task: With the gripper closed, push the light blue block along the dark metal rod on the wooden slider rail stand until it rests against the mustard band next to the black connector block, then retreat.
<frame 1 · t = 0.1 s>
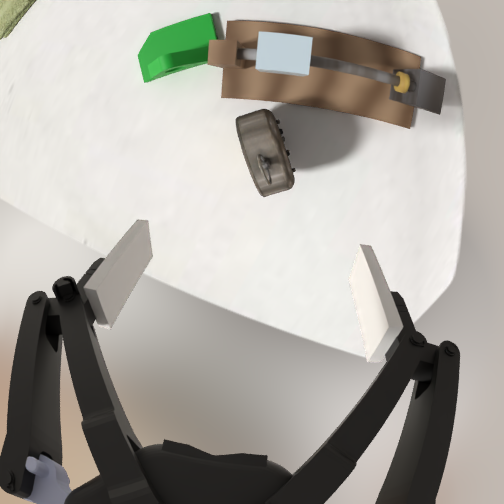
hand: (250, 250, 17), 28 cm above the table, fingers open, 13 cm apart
alarm clock: (270, 141, 40), on the table
light blue block: (283, 55, 24), point 11 cm above the table, slide at 0.0 cm
bracket: (178, 48, 33), on the table
wooden slider rail stand: (325, 68, 33), on the table
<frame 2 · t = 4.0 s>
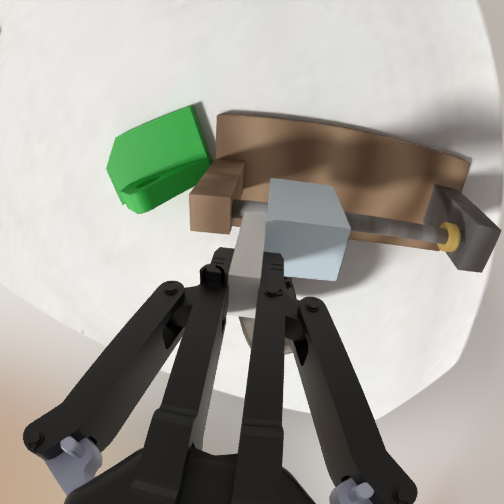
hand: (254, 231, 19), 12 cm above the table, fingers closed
alarm clock: (275, 268, 36), on the table
light blue block: (301, 224, 20), point 10 cm above the table, slide at 0.1 cm, touching gripper
bracket: (156, 155, 29), on the table
wooden slider rail stand: (349, 184, 29), on the table
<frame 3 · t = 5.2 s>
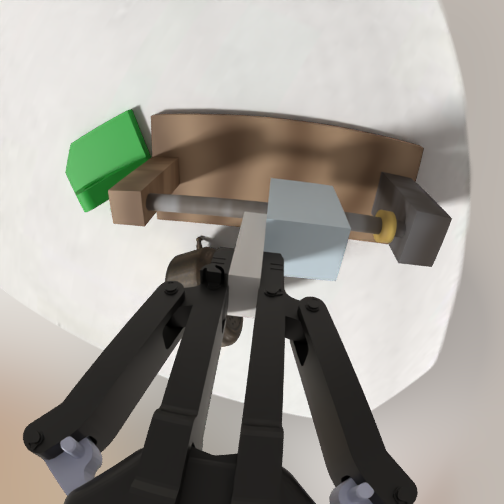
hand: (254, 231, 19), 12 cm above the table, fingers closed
alarm clock: (221, 262, 36), on the table
light blue block: (301, 224, 20), point 10 cm above the table, slide at 7.0 cm, touching gripper
bracket: (106, 157, 30), on the table
wooden slider rail stand: (285, 175, 29), on the table
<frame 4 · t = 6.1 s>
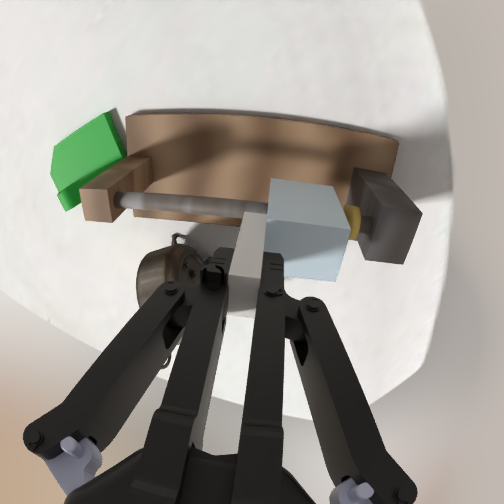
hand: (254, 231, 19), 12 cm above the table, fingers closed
alarm clock: (196, 259, 36), on the table
light blue block: (301, 225, 20), point 11 cm above the table, slide at 10.1 cm, touching gripper
bracket: (87, 158, 30), on the table
wooden slider rail stand: (256, 172, 29), on the table
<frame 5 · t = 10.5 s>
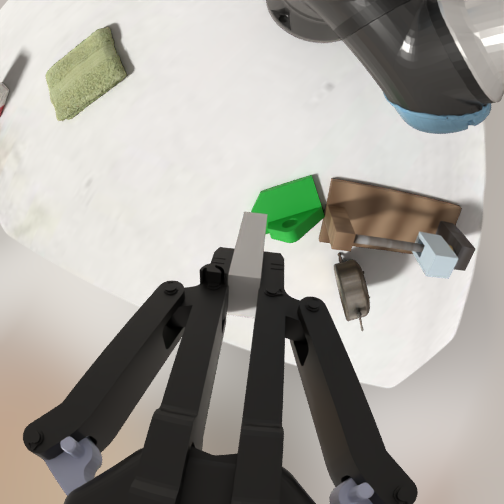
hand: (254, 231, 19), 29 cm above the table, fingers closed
washcloth: (86, 74, 38), on the table
ink box: (1, 100, 38), on the table
alarm clock: (346, 268, 56), on the table
light blue block: (434, 254, 40), point 11 cm above the table, slide at 10.2 cm
bracket: (285, 203, 50), on the table
wooden slider rail stand: (394, 220, 49), on the table
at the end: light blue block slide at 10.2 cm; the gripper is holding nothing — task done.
